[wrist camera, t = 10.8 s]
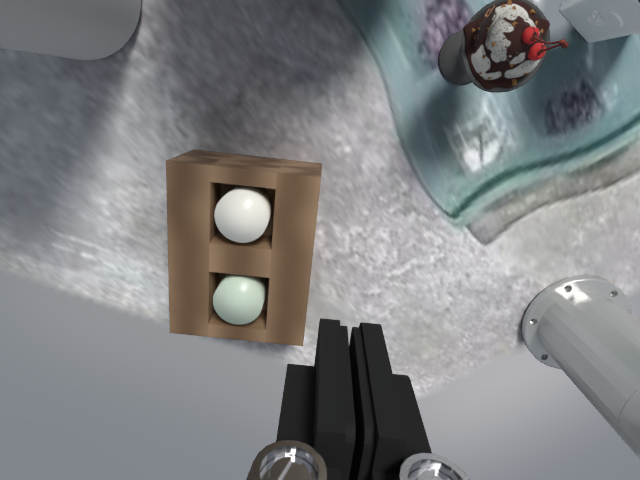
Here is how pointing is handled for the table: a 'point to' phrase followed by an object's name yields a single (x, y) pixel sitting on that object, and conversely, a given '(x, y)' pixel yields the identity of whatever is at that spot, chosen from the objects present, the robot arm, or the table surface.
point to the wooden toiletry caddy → (240, 244)
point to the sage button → (240, 298)
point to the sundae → (498, 47)
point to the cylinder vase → (68, 26)
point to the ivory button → (244, 213)
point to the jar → (602, 18)
